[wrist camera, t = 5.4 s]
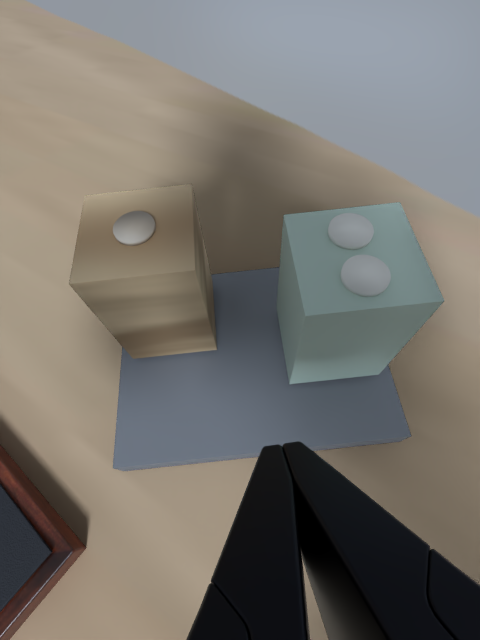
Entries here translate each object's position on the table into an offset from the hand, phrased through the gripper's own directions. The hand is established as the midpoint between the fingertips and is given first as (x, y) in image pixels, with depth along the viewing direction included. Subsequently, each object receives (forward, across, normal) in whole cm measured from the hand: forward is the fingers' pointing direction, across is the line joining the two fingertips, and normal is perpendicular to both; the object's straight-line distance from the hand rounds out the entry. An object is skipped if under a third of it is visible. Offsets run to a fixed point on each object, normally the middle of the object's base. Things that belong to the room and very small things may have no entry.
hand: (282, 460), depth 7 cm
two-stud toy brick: (+11, -4, +1) cm, 12 cm away
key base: (+12, 0, +3) cm, 12 cm away
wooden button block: (+13, +4, 0) cm, 13 cm away
